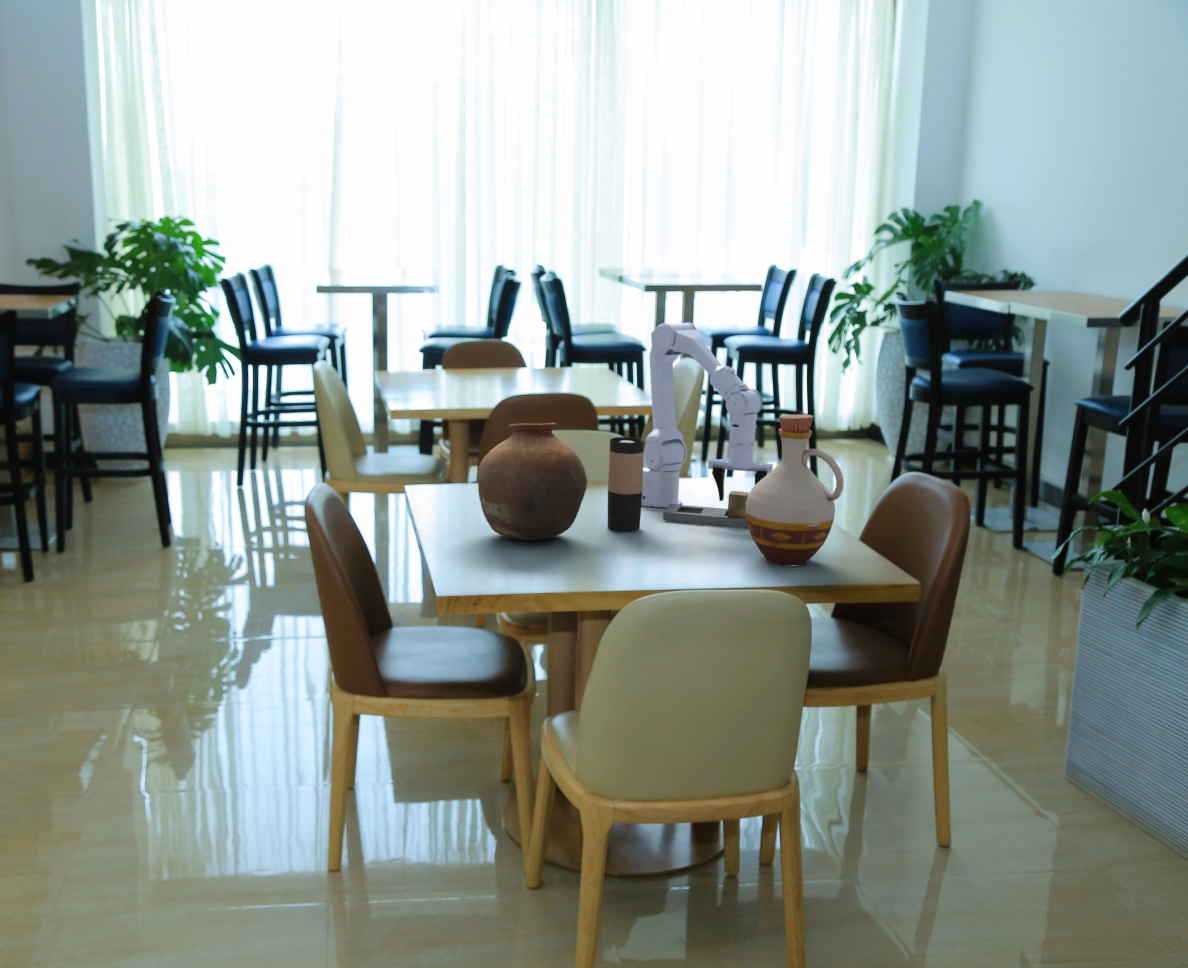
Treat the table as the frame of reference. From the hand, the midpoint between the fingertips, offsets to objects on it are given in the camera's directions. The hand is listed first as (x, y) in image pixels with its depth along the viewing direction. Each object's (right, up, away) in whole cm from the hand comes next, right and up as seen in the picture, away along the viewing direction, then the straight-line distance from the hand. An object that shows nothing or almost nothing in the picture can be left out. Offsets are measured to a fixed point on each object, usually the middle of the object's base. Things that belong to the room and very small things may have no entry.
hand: (738, 501), depth 272 cm
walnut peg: (0, -5, +1) cm, 5 cm away
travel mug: (-26, -6, -8) cm, 28 cm away
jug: (+7, -12, -31) cm, 34 cm away
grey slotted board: (-5, -4, +2) cm, 7 cm away
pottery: (-47, -8, -19) cm, 51 cm away
